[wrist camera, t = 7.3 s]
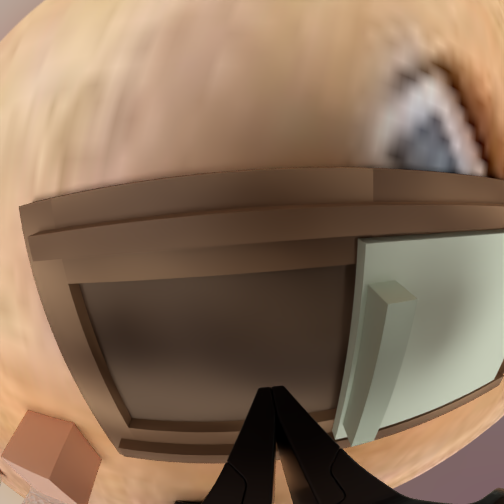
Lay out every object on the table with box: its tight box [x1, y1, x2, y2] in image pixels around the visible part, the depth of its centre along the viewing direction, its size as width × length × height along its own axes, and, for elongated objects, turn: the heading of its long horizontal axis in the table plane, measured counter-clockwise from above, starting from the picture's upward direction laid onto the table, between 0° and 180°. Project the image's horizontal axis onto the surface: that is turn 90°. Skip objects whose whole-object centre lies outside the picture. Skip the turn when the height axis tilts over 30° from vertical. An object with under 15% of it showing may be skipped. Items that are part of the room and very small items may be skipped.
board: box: [19, 167, 504, 463], centre depth 12 cm, size 16×28×2 cm, turn 93°
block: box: [1, 410, 102, 504], centre depth 12 cm, size 5×5×6 cm
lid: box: [332, 229, 504, 447], centre depth 11 cm, size 11×13×2 cm
